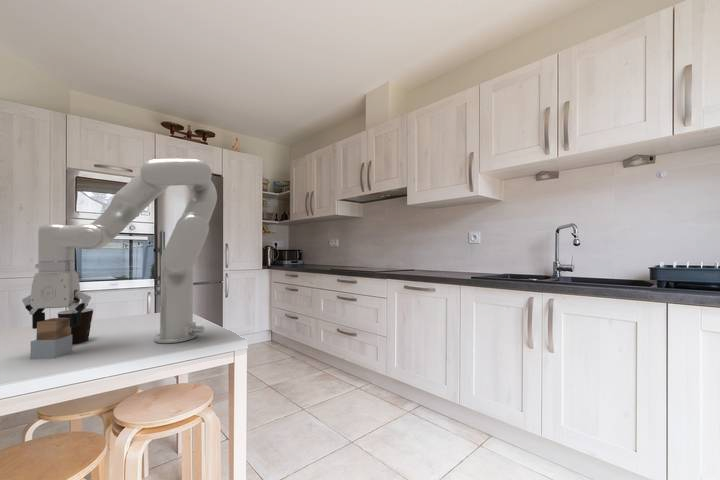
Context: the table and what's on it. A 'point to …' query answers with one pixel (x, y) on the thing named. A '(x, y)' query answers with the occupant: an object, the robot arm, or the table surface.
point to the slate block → (50, 348)
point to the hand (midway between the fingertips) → (57, 326)
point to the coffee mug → (81, 331)
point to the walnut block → (53, 329)
